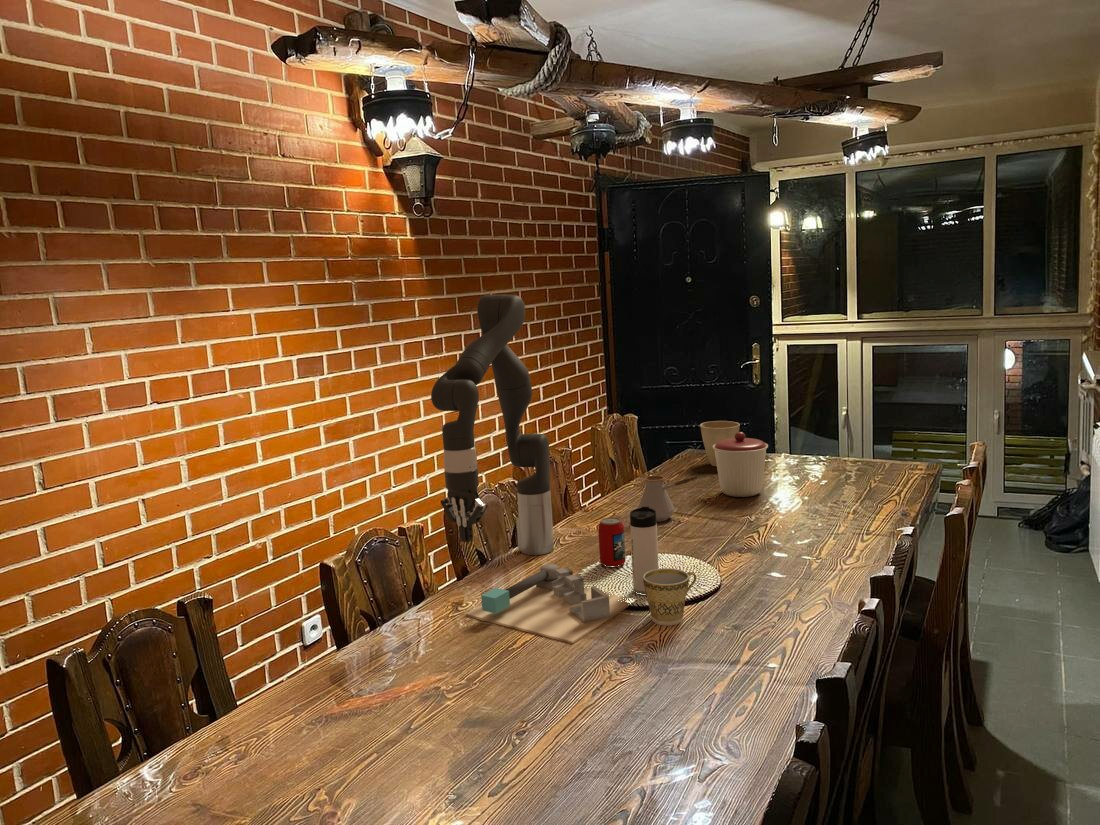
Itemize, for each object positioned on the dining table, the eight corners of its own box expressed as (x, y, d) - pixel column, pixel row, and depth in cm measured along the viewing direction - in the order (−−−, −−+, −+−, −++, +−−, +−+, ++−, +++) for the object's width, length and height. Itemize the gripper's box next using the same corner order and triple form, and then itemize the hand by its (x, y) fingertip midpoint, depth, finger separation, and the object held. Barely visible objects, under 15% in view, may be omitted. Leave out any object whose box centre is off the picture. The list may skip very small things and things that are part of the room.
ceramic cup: (662, 633, 172) (660, 588, 171) (635, 617, 181) (633, 574, 179) (711, 618, 178) (709, 574, 176) (683, 604, 187) (681, 562, 185)
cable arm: (548, 574, 205) (547, 560, 204) (562, 577, 202) (561, 563, 201) (481, 610, 185) (480, 595, 184) (496, 613, 182) (495, 598, 181)
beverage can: (624, 568, 211) (622, 524, 210) (598, 568, 213) (596, 524, 211) (627, 559, 218) (625, 516, 216) (602, 559, 219) (599, 516, 217)
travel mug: (662, 586, 198) (658, 506, 195) (656, 596, 192) (653, 514, 189) (636, 584, 200) (633, 505, 197) (630, 595, 194) (626, 513, 191)
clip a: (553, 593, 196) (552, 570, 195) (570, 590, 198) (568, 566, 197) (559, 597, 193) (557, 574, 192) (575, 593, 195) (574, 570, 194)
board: (465, 615, 188) (464, 605, 187) (534, 579, 208) (534, 569, 208) (572, 643, 170) (572, 632, 169) (636, 600, 190) (636, 590, 190)
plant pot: (701, 469, 312) (700, 428, 310) (701, 460, 327) (699, 421, 324) (741, 468, 310) (740, 427, 307) (739, 459, 324) (738, 420, 322)
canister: (776, 489, 278) (774, 428, 275) (758, 502, 263) (757, 438, 260) (725, 484, 288) (723, 426, 285) (705, 497, 273) (703, 435, 270)
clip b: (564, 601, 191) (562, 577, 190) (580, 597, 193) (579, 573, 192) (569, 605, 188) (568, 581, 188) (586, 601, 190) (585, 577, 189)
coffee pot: (630, 520, 253) (628, 473, 250) (649, 511, 262) (647, 465, 259) (693, 530, 240) (691, 480, 237) (710, 519, 249) (709, 471, 246)
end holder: (569, 612, 185) (568, 591, 184) (595, 605, 187) (594, 585, 187) (584, 623, 178) (582, 602, 177) (610, 617, 181) (609, 596, 180)
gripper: (428, 468, 186) (434, 541, 188) (471, 473, 178) (477, 550, 181) (450, 461, 192) (456, 532, 194) (493, 466, 184) (499, 540, 186)
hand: (466, 541), depth 187 cm, fingers closed
